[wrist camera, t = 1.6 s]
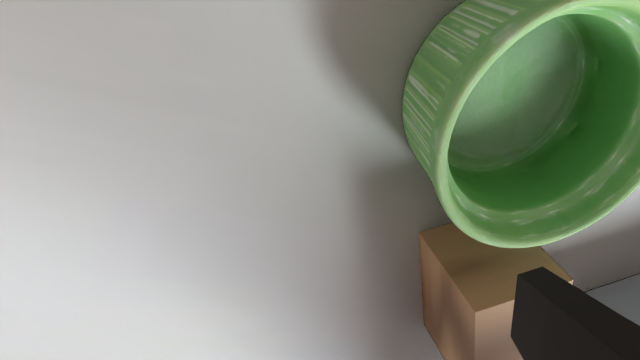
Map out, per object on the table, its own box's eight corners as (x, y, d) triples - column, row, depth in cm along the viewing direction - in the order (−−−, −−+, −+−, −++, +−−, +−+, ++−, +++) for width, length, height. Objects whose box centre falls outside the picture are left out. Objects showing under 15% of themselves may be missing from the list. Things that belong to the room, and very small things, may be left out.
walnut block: (496, 299, 28) (557, 379, 23) (423, 323, 27) (473, 409, 23) (500, 206, 24) (573, 280, 20) (417, 231, 24) (475, 312, 20)
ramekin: (392, -28, 17) (455, 5, 14) (626, -45, 19) (736, -20, 16) (379, 201, 22) (424, 270, 19) (568, 169, 24) (642, 226, 21)
